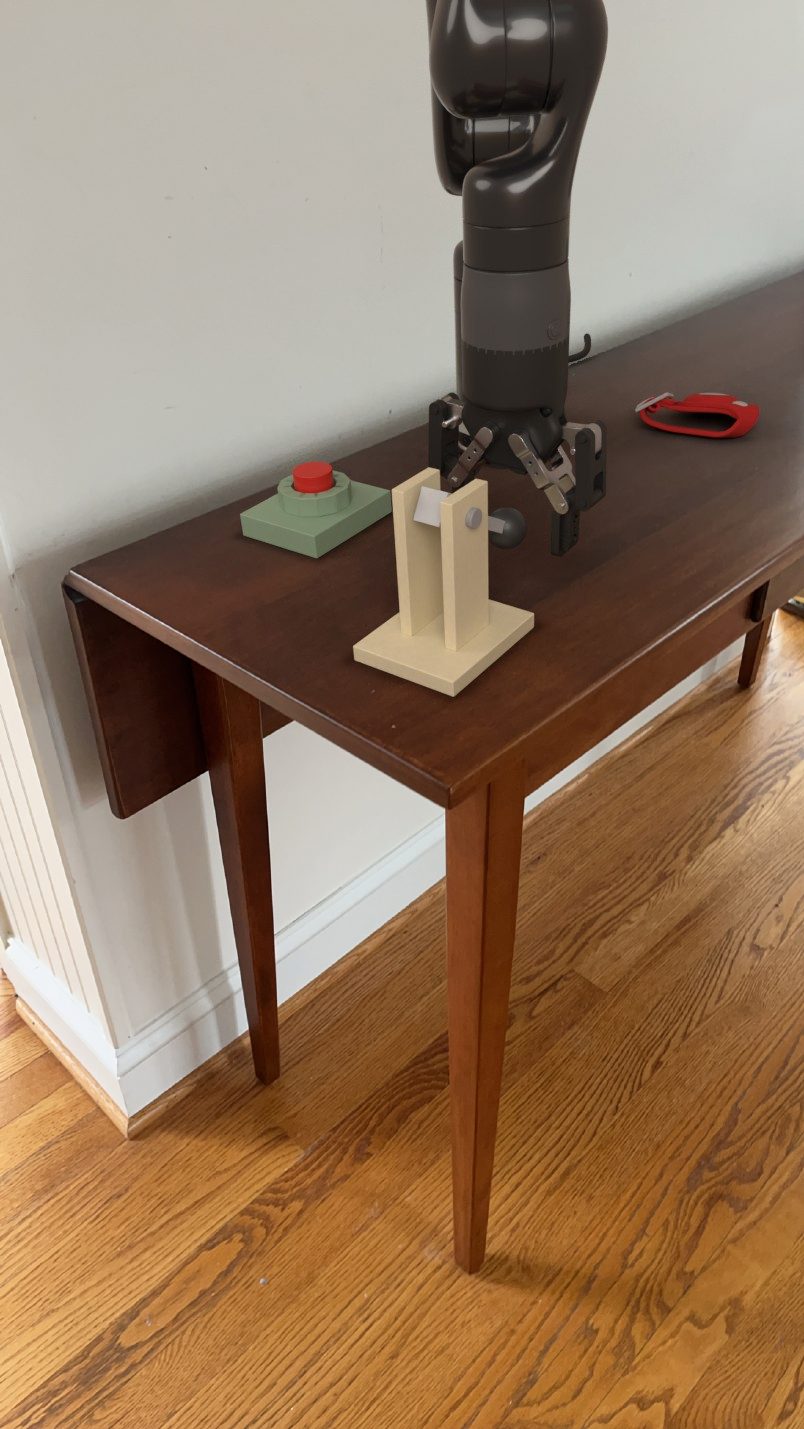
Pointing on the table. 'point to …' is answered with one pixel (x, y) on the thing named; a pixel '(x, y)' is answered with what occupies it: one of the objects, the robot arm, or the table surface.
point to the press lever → (502, 523)
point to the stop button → (313, 477)
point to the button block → (316, 515)
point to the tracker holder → (702, 403)
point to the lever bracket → (443, 594)
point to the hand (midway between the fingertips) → (513, 539)
